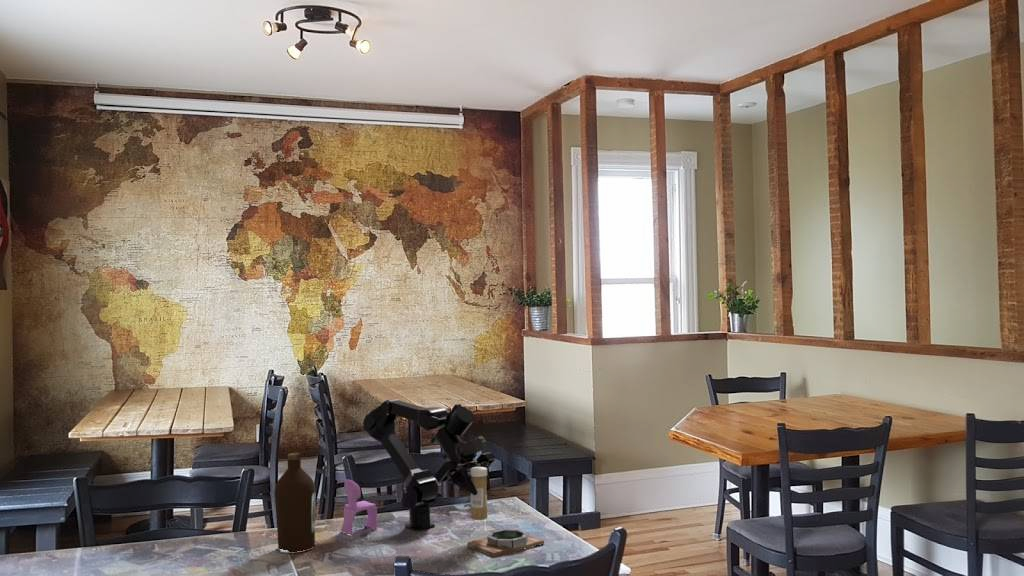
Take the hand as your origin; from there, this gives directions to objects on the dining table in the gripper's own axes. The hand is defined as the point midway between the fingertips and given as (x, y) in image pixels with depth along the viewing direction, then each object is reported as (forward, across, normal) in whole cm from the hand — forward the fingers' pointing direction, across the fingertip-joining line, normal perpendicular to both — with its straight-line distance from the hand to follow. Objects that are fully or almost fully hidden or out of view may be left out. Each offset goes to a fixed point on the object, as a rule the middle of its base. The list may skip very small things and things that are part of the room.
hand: (482, 492), depth 225 cm
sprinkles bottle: (+4, 0, +6) cm, 7 cm away
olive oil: (-16, -33, +36) cm, 51 cm away
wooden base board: (+14, +1, +4) cm, 15 cm away
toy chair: (-15, -13, +35) cm, 41 cm away
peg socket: (+15, +1, +3) cm, 15 cm away
